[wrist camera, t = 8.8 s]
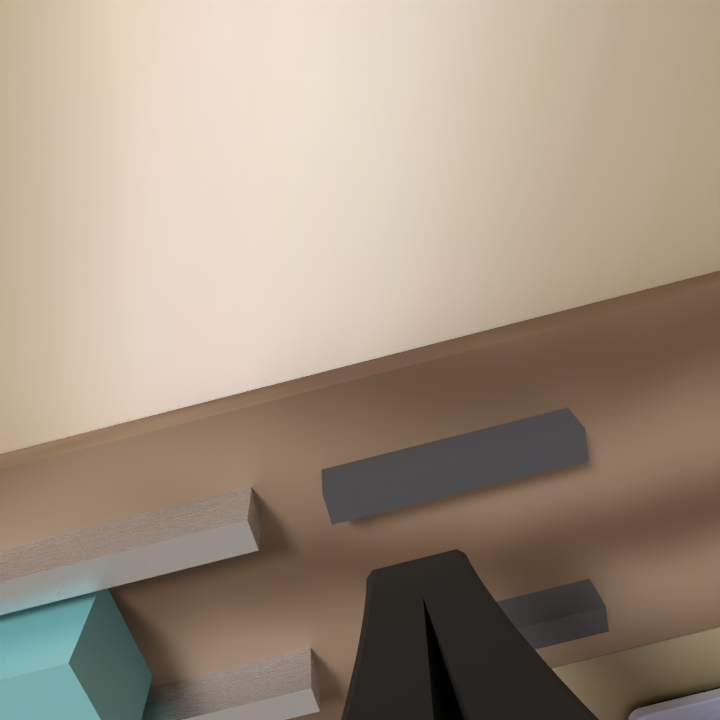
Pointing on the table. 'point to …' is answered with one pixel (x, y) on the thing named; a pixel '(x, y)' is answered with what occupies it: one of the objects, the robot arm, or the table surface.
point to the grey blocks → (471, 471)
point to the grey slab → (157, 557)
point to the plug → (71, 662)
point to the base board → (430, 518)
